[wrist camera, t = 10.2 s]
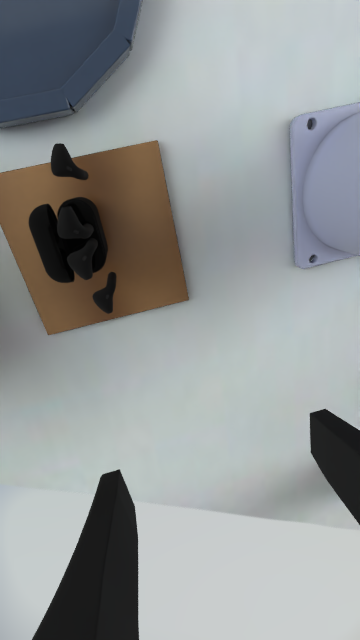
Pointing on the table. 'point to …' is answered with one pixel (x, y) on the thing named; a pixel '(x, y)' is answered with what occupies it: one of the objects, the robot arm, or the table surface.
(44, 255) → the wireless earbuds
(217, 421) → the table surface
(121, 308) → the cork coaster
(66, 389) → the table surface
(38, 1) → the plate
